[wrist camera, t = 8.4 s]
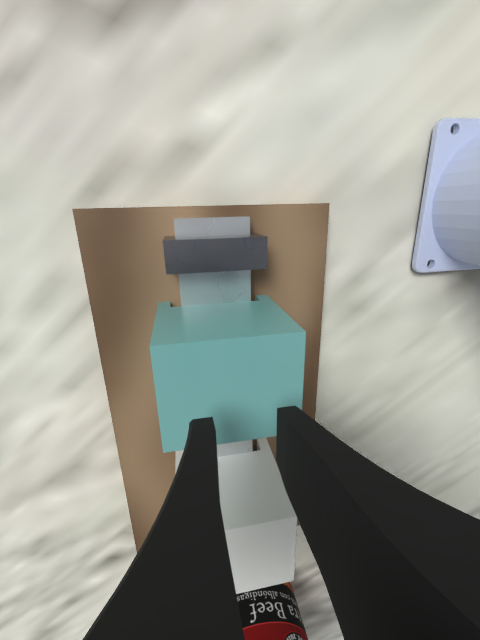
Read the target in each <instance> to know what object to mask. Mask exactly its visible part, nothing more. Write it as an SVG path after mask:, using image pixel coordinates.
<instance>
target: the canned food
mask: <svg viewBox="0 0 480 640" xmlns="http://www.w3.org/2000/svg"><path fill="white" fill-rule="evenodd" d="M236 596H237V601H238V606H239V612H240V617H241V622H242V627H243V632H244V637H245V640H308V638H307V635H306V631H305V628H304V625H303V622H302V619H301V615H300V612H299V609H298V606H297V602H296V599H295V596H294V593H293V590H292V586H291V583H290V582H286V583H282V584H277V585H273V586H269V587H265V588H260V589H256V590H252V591H248V592H243V593H239V594H236Z"/></svg>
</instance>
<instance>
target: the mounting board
mask: <svg viewBox="0 0 480 640" xmlns="http://www.w3.org/2000/svg"><path fill="white" fill-rule="evenodd" d="M73 215H74V220H75V225H76V231H77V236H78V241H79V247H80V252H81V257H82V263H83V268H84V273H85V278H86V284H87V289H88V294H89V300H90V305H91V310H92V316H93V321H94V326H95V332H96V337H97V342H98V348H99V353H100V358H101V364H102V369H103V374H104V379H105V385H106V390H107V395H108V401H109V406H110V411H111V417H112V422H113V427H114V433H115V438H116V443H117V449H118V454H119V459H120V465H121V470H122V475H123V480H124V486H125V491H126V496H127V502H128V507H129V512H130V518H131V523H132V528H133V534H134V539H135V544H136V550H137V553H138V551H139V550H140V548H141V546H142V544H143V543H144V541H145V539H146V537H147V535H148V533H149V531H150V529H151V527H152V525H153V524H154V522H155V520H156V517H157V515H158V513H159V511H160V509H161V507H162V505H163V503H164V501H165V498H166V496H167V493H168V491H169V489H170V486H171V484H172V482H173V479H174V477H175V461H176V451H172V452H166V453H163V448H162V440H161V432H160V425H159V417H158V409H157V401H156V393H155V386H154V378H153V370H152V362H151V354H150V341H151V336H152V331H153V326H154V321H155V316H156V311H157V306H158V302H168V301H170V302H171V307H177V306H181V297H180V285H179V274H170V275H166V269H165V259H164V249H163V239H164V236H175V229H174V218H199V217H235V216H249V217H250V233H258V234H261V235H264V236H268V252H267V269H257V270H251V301H256V300H255V295H267V296H269V297H270V298H271V299H272V300H273V301H274V302H275V303H276V304H277V305H278V306H279V307H280V308H281V309H282V310H283V311H285V312H286V313H287V314H288V315H289V316H290V317H291V318H292V319H293V320H294V321H295V322H296V323H297V324H298V325H300V326H301V327H302V328H303V329H304V330H305V331H306V342H305V361H304V380H303V400H302V411H303V412H305V413H306V414H307V415H308V416H310V417H311V418H312V419H313V420H315V409H316V394H317V379H318V365H319V350H320V335H321V320H322V306H323V291H324V276H325V261H326V246H327V232H328V217H329V203H322V204H276V205H231V206H185V207H139V208H94V209H73ZM259 439H260V438H259ZM266 439H267V441H268V444H269V446H270V449H271V451H272V454H273V456H274V459H275V461H276V436H272V437H266ZM252 443H253V451H257V439H252ZM179 451H180V450H179ZM276 464H277V461H276ZM277 466H278V464H277ZM278 469H279V468H278ZM297 525H300V523H299V521H298V518H297Z"/></svg>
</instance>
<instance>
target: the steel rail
mask: <svg viewBox="0 0 480 640" xmlns="http://www.w3.org/2000/svg"><path fill="white" fill-rule="evenodd" d="M174 229H175V236H164V239H163V249H164V259H165V269H166V275H170V274H179V285H180V297H181V306H191V305H204V304H218V303H231V302H245V301H251V270H257V269H267V252H268V236H264V235H261V234H258V233H250V217H249V216H235V217H199V218H174ZM246 452H253V443H252V440H246V441H239V442H232V443H226V444H219V445H217V457H221V456H227V455H234V454H240V453H246Z"/></svg>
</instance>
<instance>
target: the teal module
mask: <svg viewBox="0 0 480 640" xmlns="http://www.w3.org/2000/svg"><path fill="white" fill-rule="evenodd" d="M255 300H256V301H245V302H231V303H218V304H204V305H191V306H177V307H171V302H170V301H168V302H158V306H157V311H156V316H155V321H154V326H153V331H152V336H151V341H150V354H151V362H152V370H153V378H154V386H155V393H156V401H157V409H158V417H159V425H160V432H161V440H162V448H163V453H166V452H172V451H179V450H184V447H185V444H186V440H187V436H188V430H189V423H190V422H191V421H192V419H199V418H206V417H213V421H214V425H215V429H216V441H217V445H219V444H226V443H232V442H239V441H246V440H252V439H259V438H266V437H272V436H276V435H277V408H280V407H287V406H297V407H298V408H299V409H301V410H302V400H303V380H304V361H305V342H306V331H305V330H304V329H303V328H302V327H301V326H300V325H298V324H297V323H296V322H295V321H294V320H293V319H292V318H291V317H290V316H289V315H288V314H287V313H286V312H285V311H283V310H282V309H281V308H280V307H279V306H278V305H277V304H276V303H275V302H274V301H273V300H272V299H271V298H270V297H269V296H267V295H255Z"/></svg>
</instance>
